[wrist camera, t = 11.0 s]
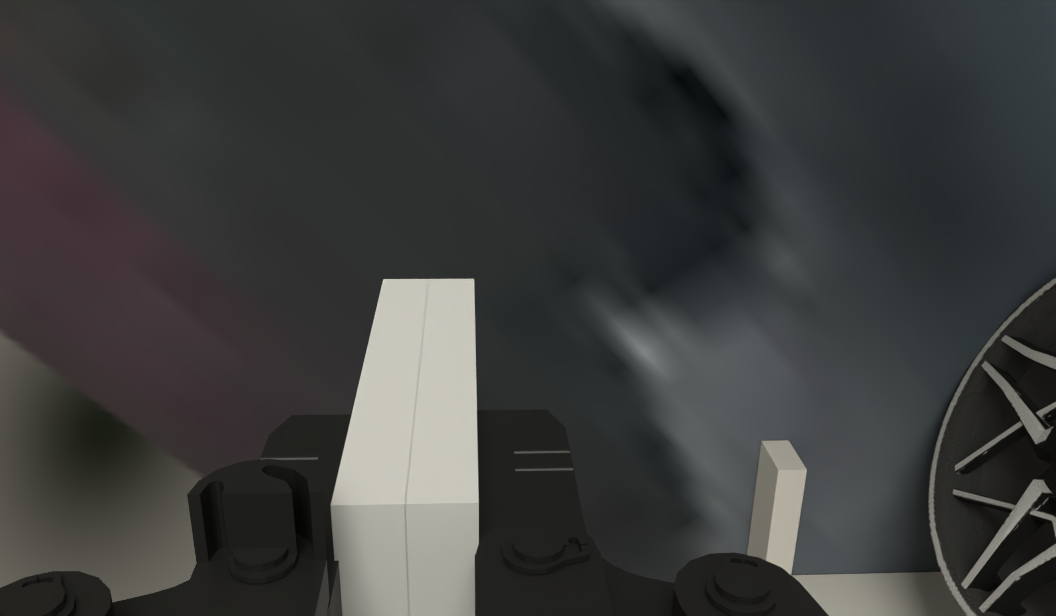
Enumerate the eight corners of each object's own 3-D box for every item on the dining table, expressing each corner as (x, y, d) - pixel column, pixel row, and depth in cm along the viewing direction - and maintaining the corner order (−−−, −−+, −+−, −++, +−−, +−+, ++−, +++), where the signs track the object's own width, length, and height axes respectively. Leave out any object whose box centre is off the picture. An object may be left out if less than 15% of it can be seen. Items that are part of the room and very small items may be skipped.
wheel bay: (761, 440, 51) (801, 510, 45) (1301, 432, 53) (1409, 498, 47) (741, 593, 55) (776, 676, 49) (1246, 580, 57) (1339, 659, 51)
